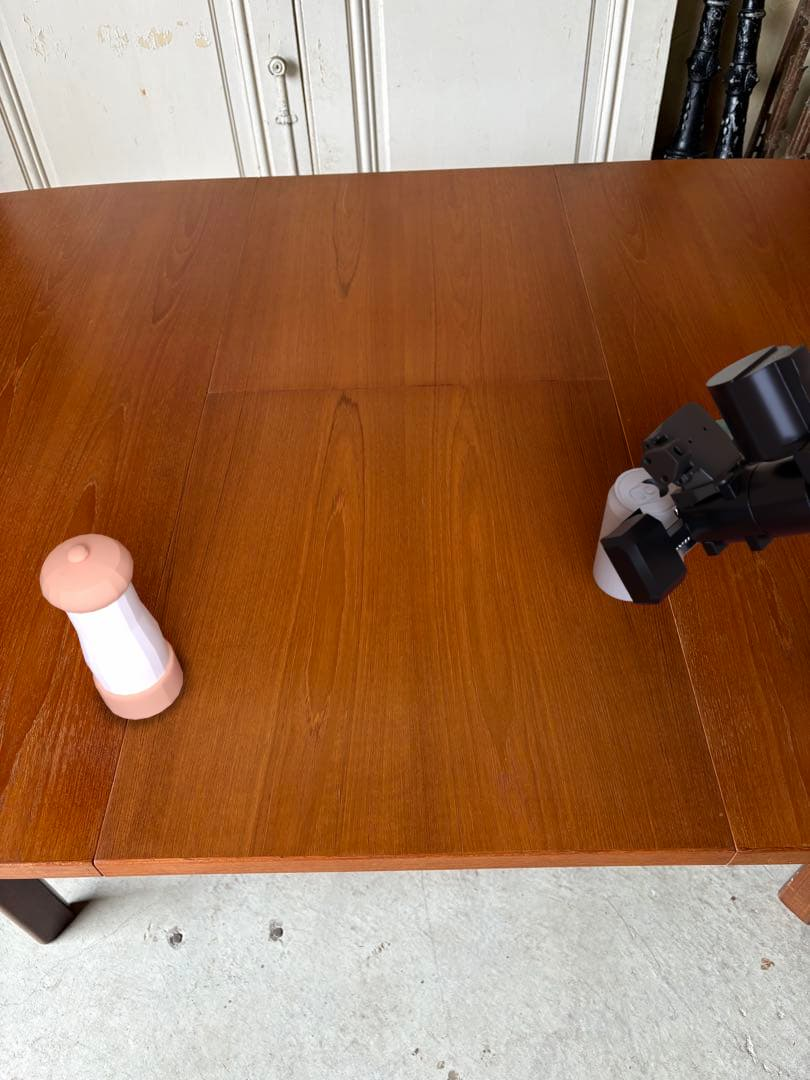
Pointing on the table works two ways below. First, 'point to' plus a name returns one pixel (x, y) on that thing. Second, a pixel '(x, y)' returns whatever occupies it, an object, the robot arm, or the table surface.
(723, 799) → the table surface
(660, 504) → the beverage can
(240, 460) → the table surface
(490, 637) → the table surface
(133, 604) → the pepper shaker
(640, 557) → the robot arm
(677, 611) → the table surface
